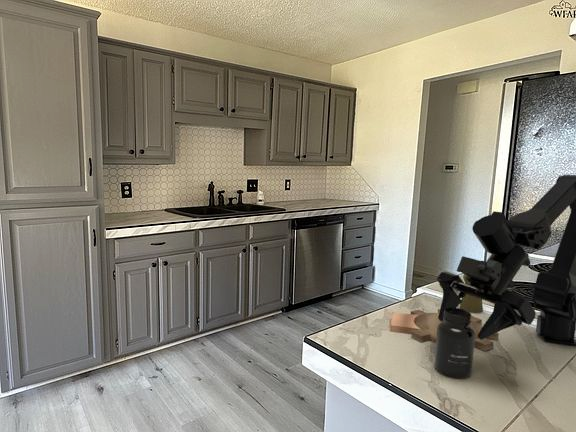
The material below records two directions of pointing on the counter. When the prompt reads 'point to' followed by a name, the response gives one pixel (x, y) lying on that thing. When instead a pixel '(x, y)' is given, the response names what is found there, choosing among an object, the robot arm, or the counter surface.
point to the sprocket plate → (433, 327)
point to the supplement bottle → (455, 344)
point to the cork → (471, 301)
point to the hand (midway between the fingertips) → (458, 328)
